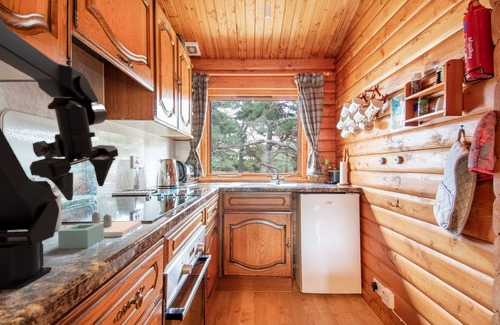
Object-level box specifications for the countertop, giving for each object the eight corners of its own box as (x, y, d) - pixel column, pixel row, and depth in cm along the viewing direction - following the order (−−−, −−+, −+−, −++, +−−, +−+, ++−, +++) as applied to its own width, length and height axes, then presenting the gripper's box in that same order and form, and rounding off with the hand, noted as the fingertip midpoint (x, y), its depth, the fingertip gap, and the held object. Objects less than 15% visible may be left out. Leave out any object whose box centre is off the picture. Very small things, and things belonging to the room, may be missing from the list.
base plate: (122, 236, 63) (122, 218, 63) (67, 237, 63) (66, 219, 63) (141, 224, 75) (141, 209, 75) (94, 225, 75) (94, 210, 75)
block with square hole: (87, 247, 55) (87, 230, 55) (58, 248, 55) (58, 230, 55) (103, 239, 61) (103, 223, 61) (77, 239, 61) (77, 223, 61)
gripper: (79, 123, 66) (88, 178, 70) (-2, 133, 48) (18, 206, 52) (115, 124, 64) (123, 180, 68) (45, 135, 46) (62, 210, 50)
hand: (86, 192), depth 60 cm, fingers open, 9 cm apart
